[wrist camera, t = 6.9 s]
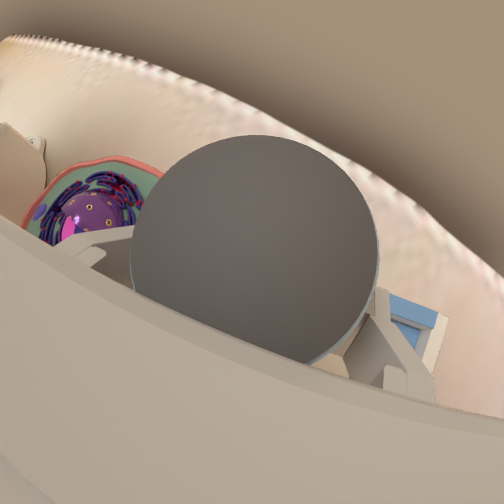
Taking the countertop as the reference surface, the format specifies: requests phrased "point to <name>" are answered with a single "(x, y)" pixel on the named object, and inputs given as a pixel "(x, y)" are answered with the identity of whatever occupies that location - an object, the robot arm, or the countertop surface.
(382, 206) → the countertop surface
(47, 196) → the cell model
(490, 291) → the countertop surface
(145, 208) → the stub
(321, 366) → the cream holder tray
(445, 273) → the countertop surface
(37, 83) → the countertop surface
